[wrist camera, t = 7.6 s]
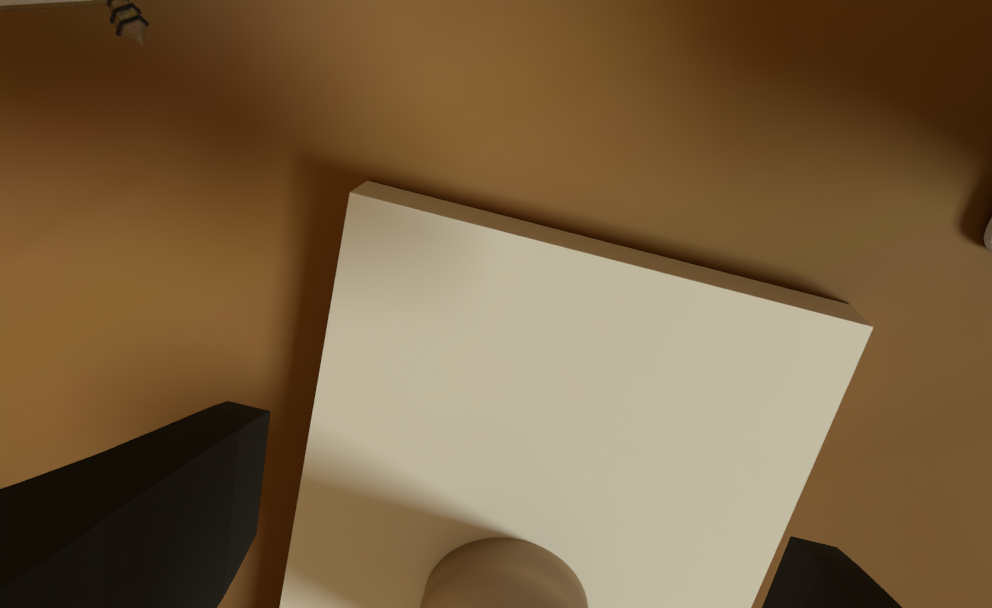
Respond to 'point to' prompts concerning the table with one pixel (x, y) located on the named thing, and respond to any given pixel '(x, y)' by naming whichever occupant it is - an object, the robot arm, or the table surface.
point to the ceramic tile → (555, 410)
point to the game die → (121, 9)
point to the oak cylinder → (502, 578)
